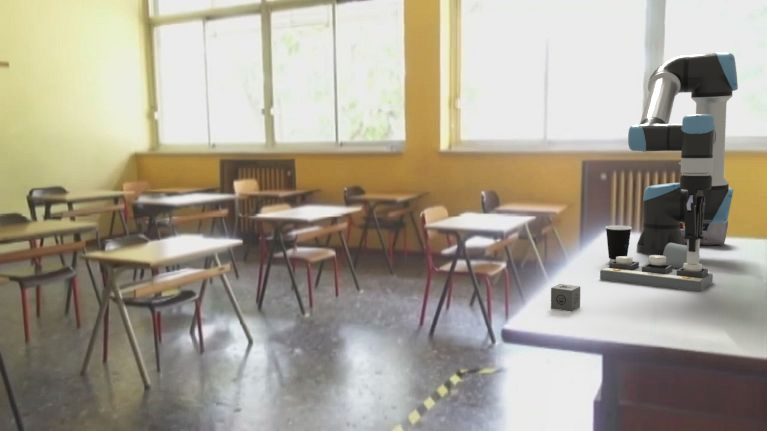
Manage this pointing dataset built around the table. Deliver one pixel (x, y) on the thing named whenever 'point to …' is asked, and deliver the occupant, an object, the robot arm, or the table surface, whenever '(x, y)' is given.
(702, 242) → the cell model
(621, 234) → the dixie cup
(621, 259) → the button
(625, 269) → the button board
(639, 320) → the table surface
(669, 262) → the ceramic mug
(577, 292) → the dice cube
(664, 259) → the middle button
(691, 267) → the button
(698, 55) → the robot arm
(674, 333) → the table surface
